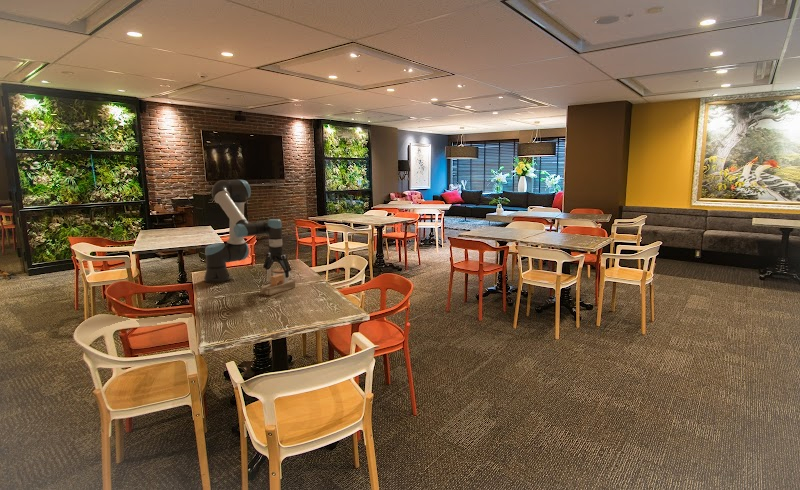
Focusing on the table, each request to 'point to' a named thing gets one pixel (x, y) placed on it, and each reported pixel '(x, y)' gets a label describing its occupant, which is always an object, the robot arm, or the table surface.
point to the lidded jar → (279, 271)
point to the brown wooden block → (276, 288)
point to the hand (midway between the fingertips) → (277, 281)
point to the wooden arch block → (277, 279)
